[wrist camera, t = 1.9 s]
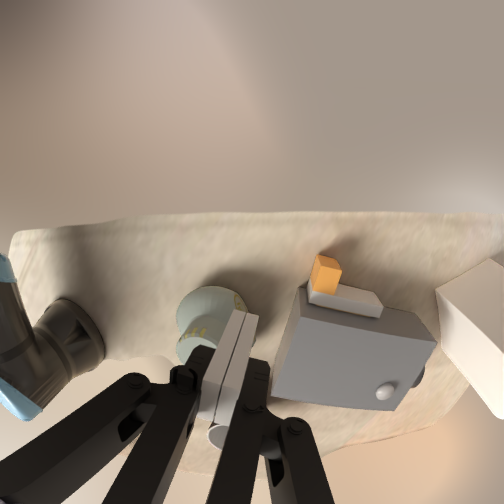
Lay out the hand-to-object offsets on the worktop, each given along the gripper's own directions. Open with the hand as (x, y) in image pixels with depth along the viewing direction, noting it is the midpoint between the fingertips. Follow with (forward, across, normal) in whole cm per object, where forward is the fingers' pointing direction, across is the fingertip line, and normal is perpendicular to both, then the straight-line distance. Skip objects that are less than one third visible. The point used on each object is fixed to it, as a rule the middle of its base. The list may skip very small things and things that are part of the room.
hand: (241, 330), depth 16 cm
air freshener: (+19, -4, -10) cm, 22 cm away
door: (+18, +10, -1) cm, 21 cm away
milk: (+19, +33, 0) cm, 38 cm away
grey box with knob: (+18, +15, -9) cm, 25 cm away
